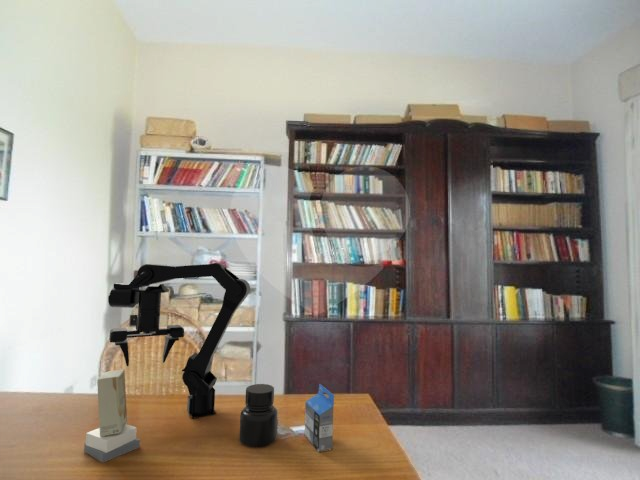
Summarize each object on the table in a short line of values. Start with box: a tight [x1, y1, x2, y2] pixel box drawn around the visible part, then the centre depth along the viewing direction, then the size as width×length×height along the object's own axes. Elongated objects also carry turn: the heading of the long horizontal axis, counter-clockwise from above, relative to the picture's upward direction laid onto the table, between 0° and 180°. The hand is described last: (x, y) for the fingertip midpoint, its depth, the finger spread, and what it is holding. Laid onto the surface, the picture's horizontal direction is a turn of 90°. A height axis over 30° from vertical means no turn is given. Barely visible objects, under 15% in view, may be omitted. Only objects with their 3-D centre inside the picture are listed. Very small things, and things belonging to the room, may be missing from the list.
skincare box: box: [96, 368, 128, 437], centre depth 81 cm, size 6×4×12 cm
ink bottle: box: [238, 383, 279, 448], centre depth 88 cm, size 10×9×12 cm
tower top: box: [85, 423, 138, 453], centre depth 81 cm, size 7×7×2 cm
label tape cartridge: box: [304, 383, 335, 453], centre depth 87 cm, size 9×4×12 cm, turn 24°
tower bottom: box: [83, 437, 141, 464], centre depth 81 cm, size 8×8×2 cm
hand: (145, 364), depth 102 cm, fingers open, 9 cm apart
